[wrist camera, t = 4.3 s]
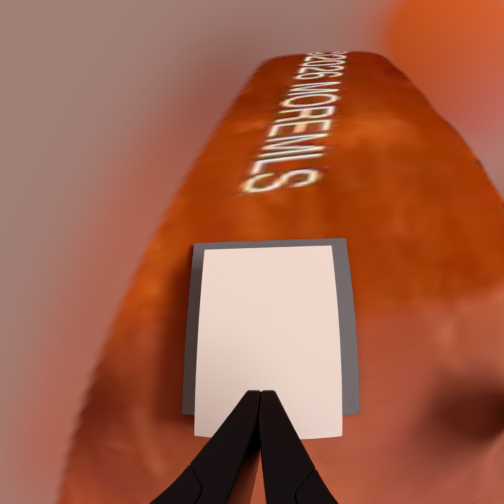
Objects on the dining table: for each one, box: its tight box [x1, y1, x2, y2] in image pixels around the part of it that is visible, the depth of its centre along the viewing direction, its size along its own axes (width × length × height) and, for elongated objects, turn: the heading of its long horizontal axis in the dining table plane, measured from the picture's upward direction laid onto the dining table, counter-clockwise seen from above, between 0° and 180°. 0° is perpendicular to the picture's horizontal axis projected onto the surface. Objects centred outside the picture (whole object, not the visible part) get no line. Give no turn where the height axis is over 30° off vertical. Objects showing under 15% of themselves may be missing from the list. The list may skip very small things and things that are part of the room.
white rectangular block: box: [194, 246, 342, 439], centre depth 15 cm, size 2×7×10 cm
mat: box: [182, 238, 360, 415], centre depth 17 cm, size 11×10×1 cm
